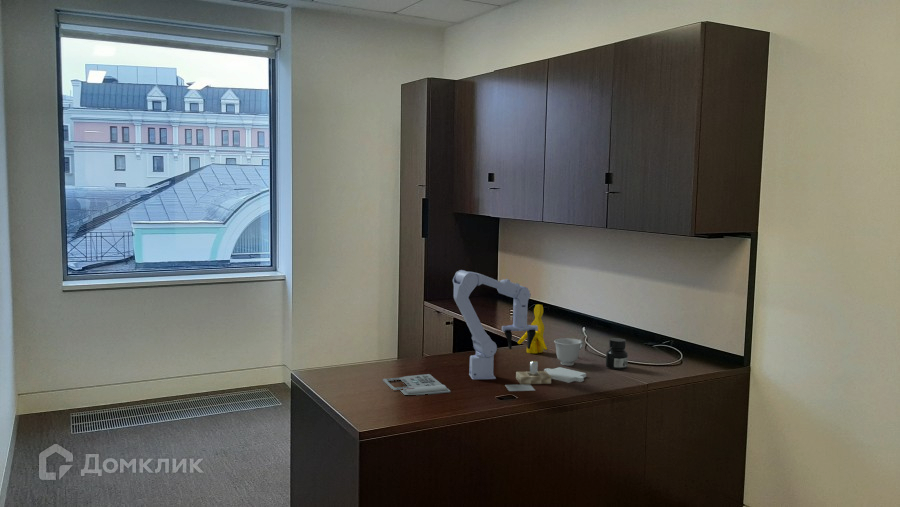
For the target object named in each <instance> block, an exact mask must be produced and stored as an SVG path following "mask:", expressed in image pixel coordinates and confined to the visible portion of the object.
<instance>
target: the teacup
mask: <svg viewBox="0 0 900 507" xmlns="http://www.w3.org/2000/svg"><path fill="white" fill-rule="evenodd" d="M553 342H554V344H555V351H556V357H557V360H559V361H560V365H562V366H574V365H575V362H576V361H578V358H579V356H580V355H579V354H580V351H581V350H582V349H583V347H584V341H583V339H577V338H572V337H571V338H567V337H565V338H564V337H561V338H556V339H554V341H553Z"/></svg>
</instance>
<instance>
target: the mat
mask: <svg viewBox="0 0 900 507" xmlns="http://www.w3.org/2000/svg"><path fill="white" fill-rule="evenodd" d="M504 386H505V387H506V389H507V390H508V392H526V391H527V392H528V391H536V389H535V388H534V386H532V384H505V385H504Z"/></svg>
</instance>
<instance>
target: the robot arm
mask: <svg viewBox="0 0 900 507" xmlns="http://www.w3.org/2000/svg"><path fill="white" fill-rule="evenodd" d="M452 284H453V299H454V302H455V303H456V307H458V309H459V311H460V313H461V316H462V318H463V319H464V321H465V323H466V325H467V327H468V329H469V332H470V333H471V340H472V345H473V346H472V348H473V349H474V350H475V354H473V355H470V356H469V371H468V372H469V373H468V375H469V376H470V378H471V379H472V380H497V377H496V376H495V375H494V362H495V360H494V356H495V355H496V352H497V350H498V346H497V344H496V342H495V341H493V340H492V339H491V337H490V335H488V334H487V332H486V331H485V329H484V326H483V325H482V323H481V320H480V319H479V317H478V315H477V312H476V311H475V308H474V306H473V305H472V303H471V300H470V298H469V297H470V295H471V293H472V292H473V291H474V289H475V288H476V287H477V286H478V287H479V286H481V285H485V286H488V287H491V288H495V289H496V290H497V292H498V294H500V295H503V296H506V297H510V298H513V304H512V308H513V309H512V312H513V313H512V324H510V325H509V324H508V325H502V326H501V331H502V332H503V334H504V336H505V338H506V342H507V346H508V349H509V350H512V348H513V347H512V344H513V343H512V342H513V341H512V340H513V333H512V332H526V331H527V338H526V339H527V340H526V342H527V343H526V348H528V349H530V346H531V343H532V340H533V338H534V336H535V334H536V332H535V331H538V326H537V325H531V324H528V304H529V300H530V298H531V293H530V292H531V291H530V290H529V288H528V287H526V286H524V285H521V284H520V283H518V282H516V283H515V282H512V281H511V279H508V278H505V279H504V278H503V279H500V280H498V279H494V278H493V277H489V276H487V275H484V274H483V273H482V274H481V273H478V272H474V271H466V270H464V269H459V270H458V271H456V272H455V274H454V276H453V278H452Z"/></svg>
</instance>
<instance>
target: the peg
mask: <svg viewBox="0 0 900 507" xmlns="http://www.w3.org/2000/svg"><path fill="white" fill-rule="evenodd" d="M538 367H539V361H536V360H530V361H529V371H530V376H538V369H539V368H538Z"/></svg>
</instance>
